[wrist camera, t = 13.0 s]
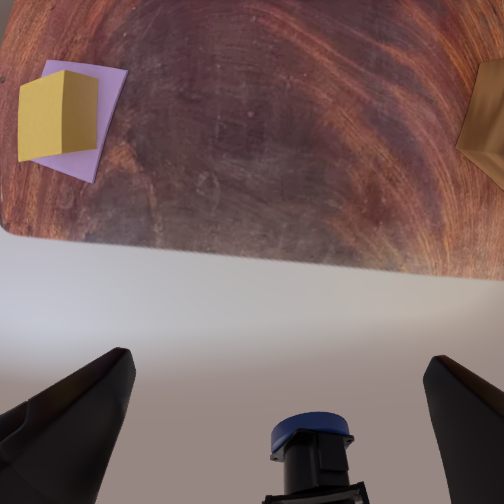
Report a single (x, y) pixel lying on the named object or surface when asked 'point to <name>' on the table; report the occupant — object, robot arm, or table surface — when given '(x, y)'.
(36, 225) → the table surface
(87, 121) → the cheese
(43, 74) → the towel
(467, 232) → the table surface
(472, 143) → the stand
